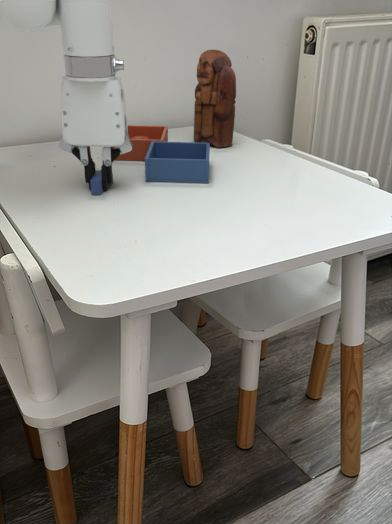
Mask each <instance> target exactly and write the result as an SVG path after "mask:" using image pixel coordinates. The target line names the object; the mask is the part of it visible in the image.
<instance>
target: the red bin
mask: <svg viewBox="0 0 392 524" xmlns="http://www.w3.org/2000/svg"><path fill="white" fill-rule="evenodd" d="M127 125H128V135H129V137H130V140H131V142H132V145H133V148H132V150H131V151H129V152H127V153H124V154H121V155H119V156H118V157H117V158H116V159H115V160H114V161H131V162H145V157H146V155H147V152H148V149H149V147H150V144H151V142H152V141H158V142H169V126H168V125H133V124H132V125H131V124H127ZM134 136H146V137H148V138H149V139H131V138H132V137H134ZM116 147H117V146H116ZM114 148H115V147H113V149H114Z"/></svg>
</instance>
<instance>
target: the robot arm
mask: <svg viewBox="0 0 392 524" xmlns="http://www.w3.org/2000/svg"><path fill="white" fill-rule="evenodd" d="M0 17H1V19H2V20H3V21H4V22H5V23H6V24H7V25H9V26H10V27H11V28H13V29H15V30H16V31H19V32H21V33H34V32H38V31H40V30H42V29H44V28H47V27H51V26H60V34H61V44H62V53H63V63H64V73H65V75H64V76H62V77H61V82H60V83H61V86H60V121H61V122H60V123H61V132H62V133H61V138H60V141H59V149H60V150H62V151H64V152H67V153H69V154H72V155H73V156H74V157H75V158H76V159H78V161H80V163H81V164H82V166H83V170H84V171H83V172H84V178H85V179H84V180H85V181H84V182H85V183H86V184H88V189H89V190H90V191H91V183H90V180H91V179H92V177H93V176H94V174H95V172H96V162H95V161H94V159H93V158H92V152H91V151H92V150H91V147H102V154H103V160H102V165H100V170H101V173H102V185H103V189H104V190H103V191H108V189H109V188H110V184H111V185H113V184H112V182H113V183H114V176H113V177H112V173H113V163H114V161H116V160H115V159H116V158H117V157H118V156H119V155H121V154H124V153H127V152H129V151H131V150H132V148H133V145H132V142H131V140H130V137H129V135H128V125H129V124H128V115H127V107H126V106H127V105H126V99H125V98H126V97H125V91H124V87H123V82H122V78H121V76H117V75H116V74H117V72H119V71H124V70H125V61H124V60H123V59H119V58H117V57H116V54H115V51H114V50H115V49H114V48H115V47H114V34H113V15H112V0H0ZM116 146H117V147H116ZM113 147H115V148H114V149H113Z"/></svg>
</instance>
